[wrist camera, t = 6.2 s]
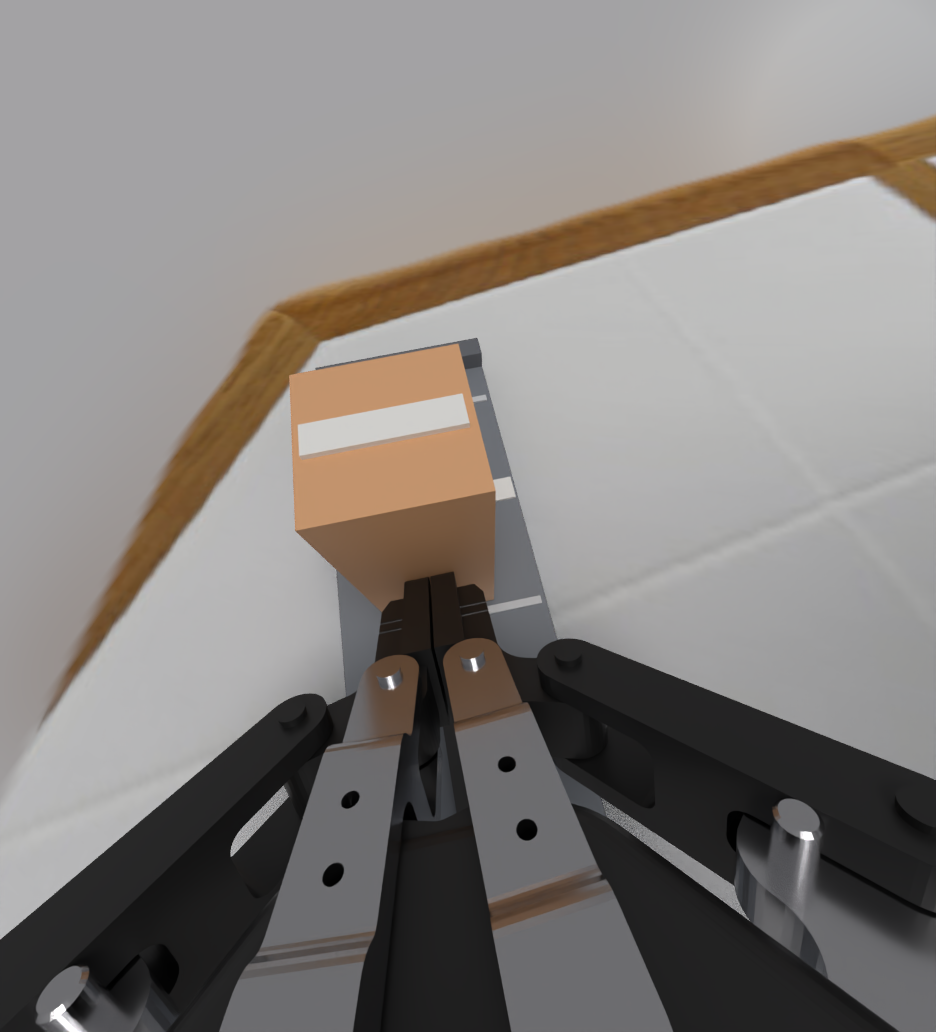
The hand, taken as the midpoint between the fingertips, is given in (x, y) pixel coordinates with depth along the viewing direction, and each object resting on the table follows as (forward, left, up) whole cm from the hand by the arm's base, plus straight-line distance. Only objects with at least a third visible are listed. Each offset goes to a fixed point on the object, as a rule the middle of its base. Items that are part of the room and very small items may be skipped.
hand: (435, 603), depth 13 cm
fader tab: (-1, -2, -4) cm, 4 cm away
